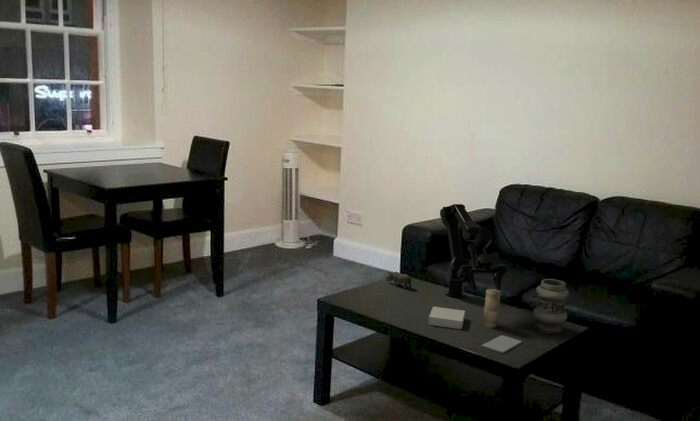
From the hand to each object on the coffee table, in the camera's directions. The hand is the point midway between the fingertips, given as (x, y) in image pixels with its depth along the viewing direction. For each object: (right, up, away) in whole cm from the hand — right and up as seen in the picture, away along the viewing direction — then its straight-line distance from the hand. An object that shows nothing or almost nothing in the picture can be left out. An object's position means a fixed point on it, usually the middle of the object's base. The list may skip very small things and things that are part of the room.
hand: (487, 291), depth 249 cm
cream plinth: (-15, -11, -1) cm, 19 cm away
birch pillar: (0, -12, -2) cm, 12 cm away
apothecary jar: (+22, -14, -3) cm, 26 cm away
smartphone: (+1, -16, -20) cm, 26 cm away
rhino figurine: (-31, -2, +39) cm, 50 cm away
